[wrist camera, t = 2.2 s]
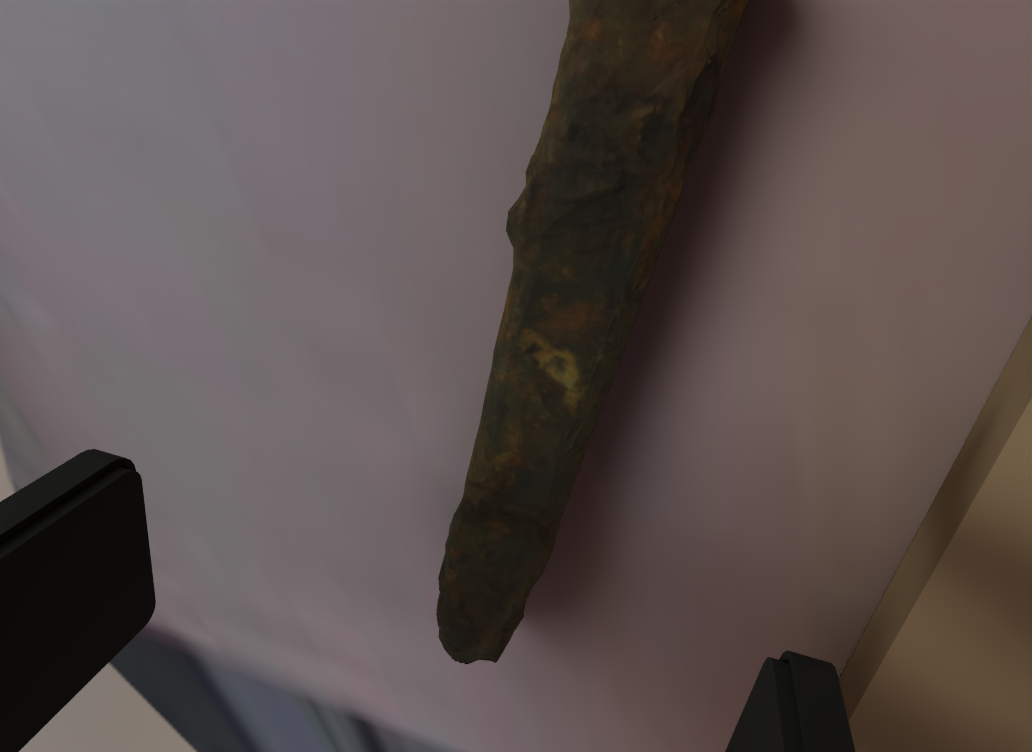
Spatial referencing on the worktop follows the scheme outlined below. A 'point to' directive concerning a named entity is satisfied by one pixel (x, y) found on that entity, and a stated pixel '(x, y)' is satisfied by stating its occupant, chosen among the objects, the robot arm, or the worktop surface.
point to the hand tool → (576, 287)
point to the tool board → (959, 601)
